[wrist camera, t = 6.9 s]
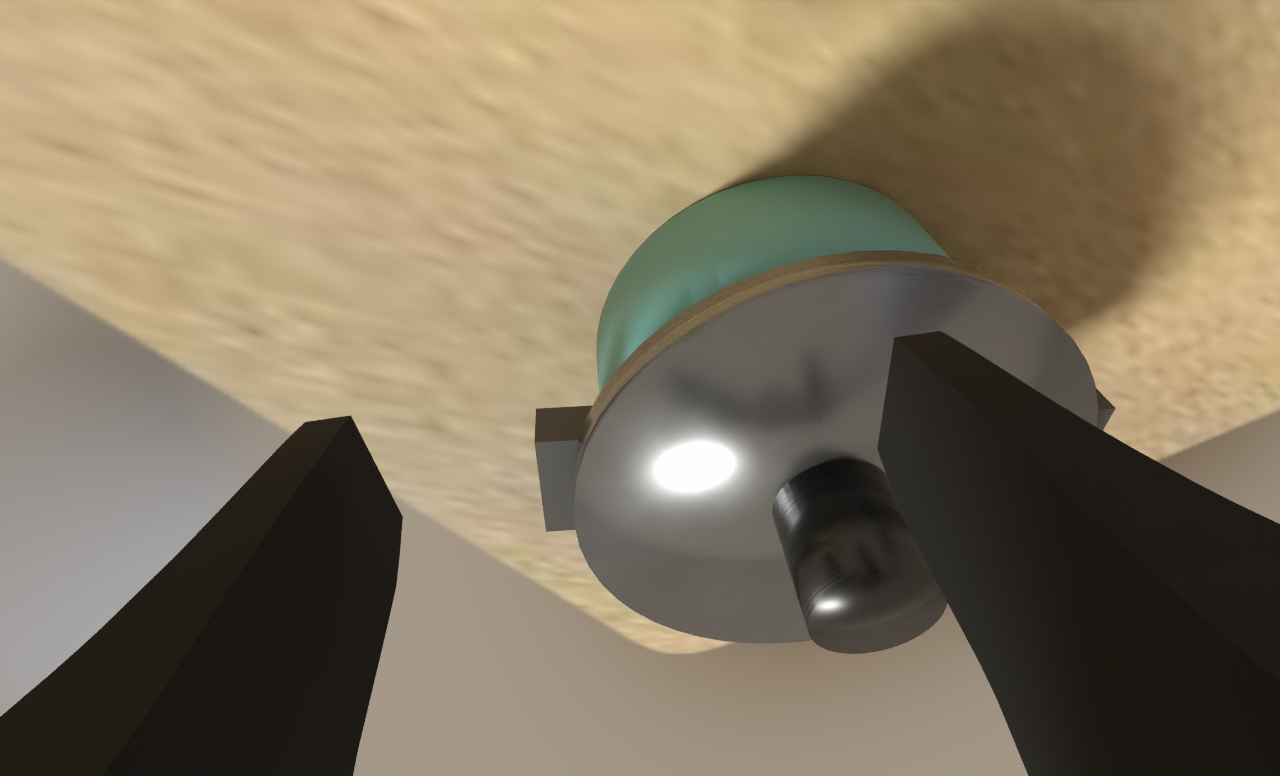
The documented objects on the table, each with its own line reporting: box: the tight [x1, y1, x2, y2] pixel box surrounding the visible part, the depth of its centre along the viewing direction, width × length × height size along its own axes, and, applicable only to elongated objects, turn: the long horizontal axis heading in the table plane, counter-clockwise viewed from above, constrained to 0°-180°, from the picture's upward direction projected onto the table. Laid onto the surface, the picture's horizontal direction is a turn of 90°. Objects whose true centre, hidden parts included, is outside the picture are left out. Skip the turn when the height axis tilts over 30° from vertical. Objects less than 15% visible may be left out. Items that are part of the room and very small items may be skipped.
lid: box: [573, 250, 1098, 654], centre depth 15 cm, size 12×12×4 cm
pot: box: [535, 175, 1115, 532], centre depth 19 cm, size 14×11×6 cm
